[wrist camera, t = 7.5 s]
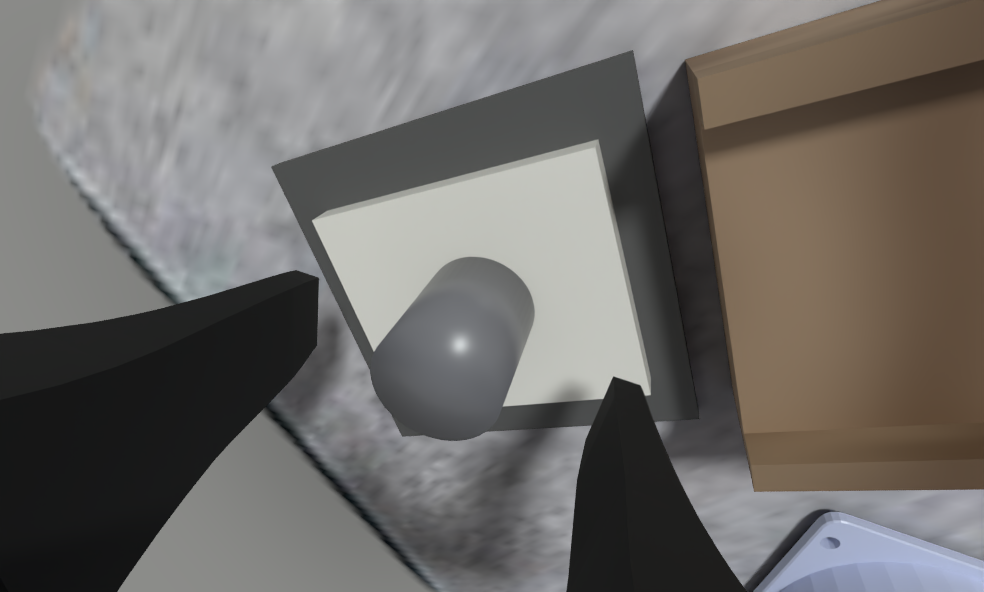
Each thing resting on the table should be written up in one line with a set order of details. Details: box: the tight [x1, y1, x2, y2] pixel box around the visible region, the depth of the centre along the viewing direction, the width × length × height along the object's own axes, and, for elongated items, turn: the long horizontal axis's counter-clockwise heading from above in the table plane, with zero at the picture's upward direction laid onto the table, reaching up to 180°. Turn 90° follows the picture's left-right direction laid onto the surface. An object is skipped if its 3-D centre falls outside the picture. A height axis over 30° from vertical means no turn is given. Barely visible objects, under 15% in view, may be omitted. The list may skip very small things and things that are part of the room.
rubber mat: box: [272, 50, 699, 436], centre depth 15 cm, size 10×10×1 cm
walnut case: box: [685, 0, 984, 492], centre depth 10 cm, size 9×9×4 cm
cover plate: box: [312, 140, 651, 441], centre depth 13 cm, size 8×7×4 cm
